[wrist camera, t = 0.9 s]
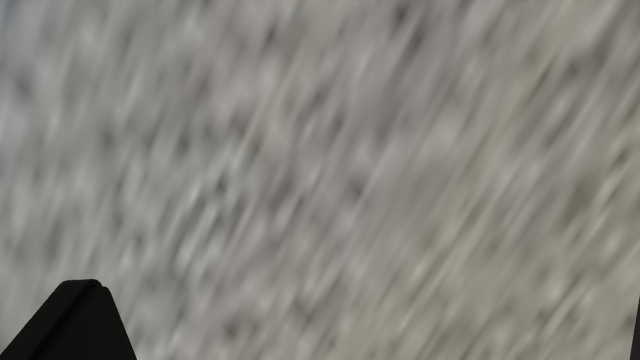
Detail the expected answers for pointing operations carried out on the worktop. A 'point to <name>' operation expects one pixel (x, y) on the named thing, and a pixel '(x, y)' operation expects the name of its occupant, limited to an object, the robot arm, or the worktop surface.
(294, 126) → the worktop surface
